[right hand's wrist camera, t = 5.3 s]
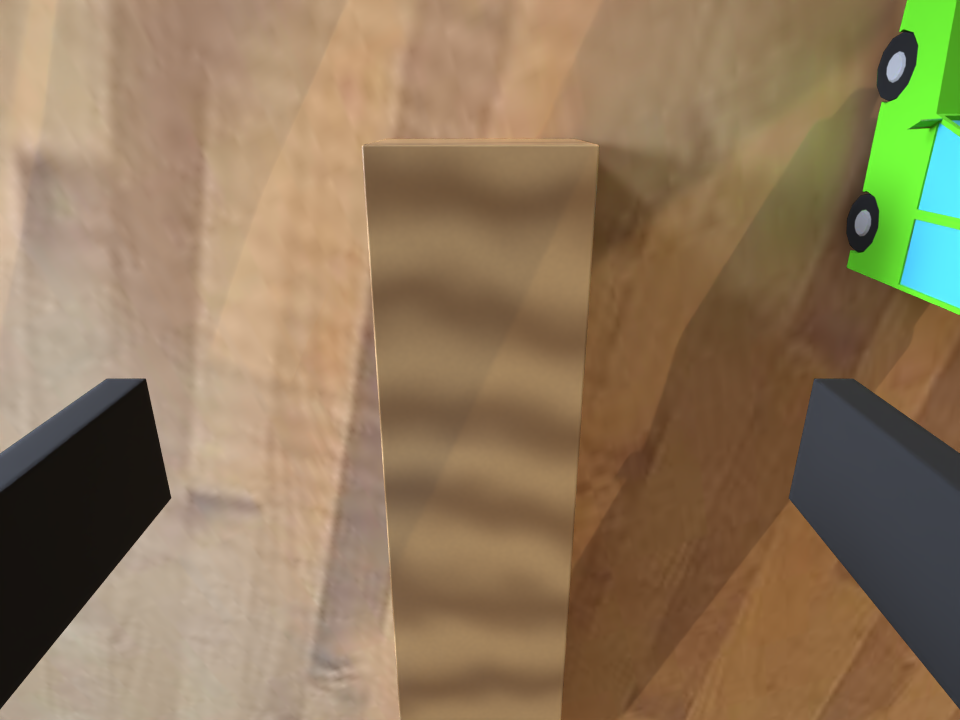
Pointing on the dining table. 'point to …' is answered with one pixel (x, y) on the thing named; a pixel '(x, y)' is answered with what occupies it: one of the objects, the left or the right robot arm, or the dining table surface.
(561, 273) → the wide beam
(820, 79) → the dining table surface
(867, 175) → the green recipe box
